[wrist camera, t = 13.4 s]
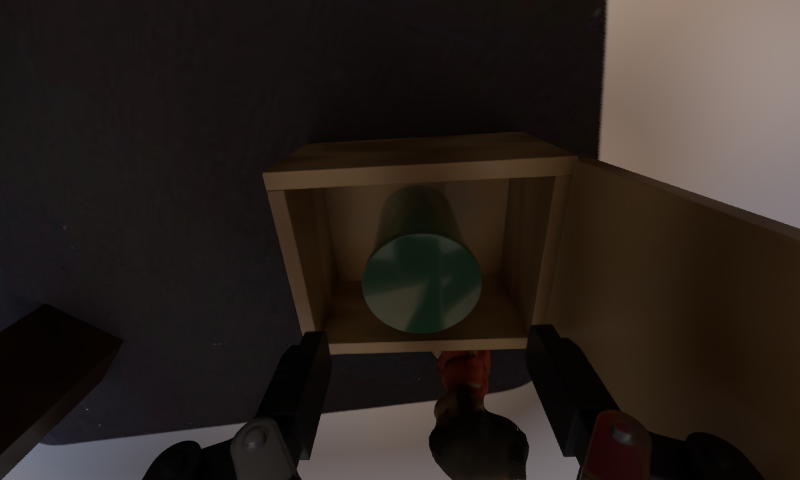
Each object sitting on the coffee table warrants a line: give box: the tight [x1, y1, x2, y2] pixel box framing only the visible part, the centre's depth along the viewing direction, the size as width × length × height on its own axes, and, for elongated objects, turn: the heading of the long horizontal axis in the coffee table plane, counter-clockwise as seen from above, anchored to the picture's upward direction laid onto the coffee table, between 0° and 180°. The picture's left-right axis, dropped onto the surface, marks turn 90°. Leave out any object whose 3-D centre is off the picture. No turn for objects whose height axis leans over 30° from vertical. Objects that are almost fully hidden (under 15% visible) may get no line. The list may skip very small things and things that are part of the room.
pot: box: [362, 185, 482, 333], centre depth 20 cm, size 6×6×8 cm
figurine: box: [429, 350, 529, 480], centre depth 25 cm, size 6×6×12 cm
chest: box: [262, 132, 578, 354], centre depth 21 cm, size 15×12×8 cm
